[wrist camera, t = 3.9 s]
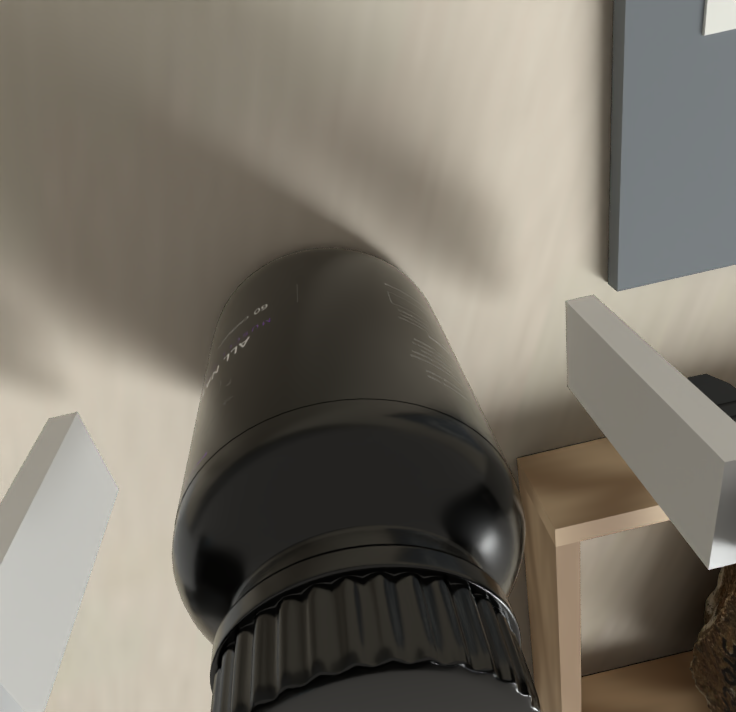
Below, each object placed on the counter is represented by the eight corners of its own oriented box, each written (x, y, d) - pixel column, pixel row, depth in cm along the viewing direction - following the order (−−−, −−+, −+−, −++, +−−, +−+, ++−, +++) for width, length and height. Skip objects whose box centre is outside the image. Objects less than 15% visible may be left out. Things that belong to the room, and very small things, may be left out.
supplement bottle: (188, 257, 17) (42, 654, 6) (430, 225, 17) (659, 549, 7) (237, 451, 20) (195, 911, 10) (437, 420, 21) (598, 830, 10)
